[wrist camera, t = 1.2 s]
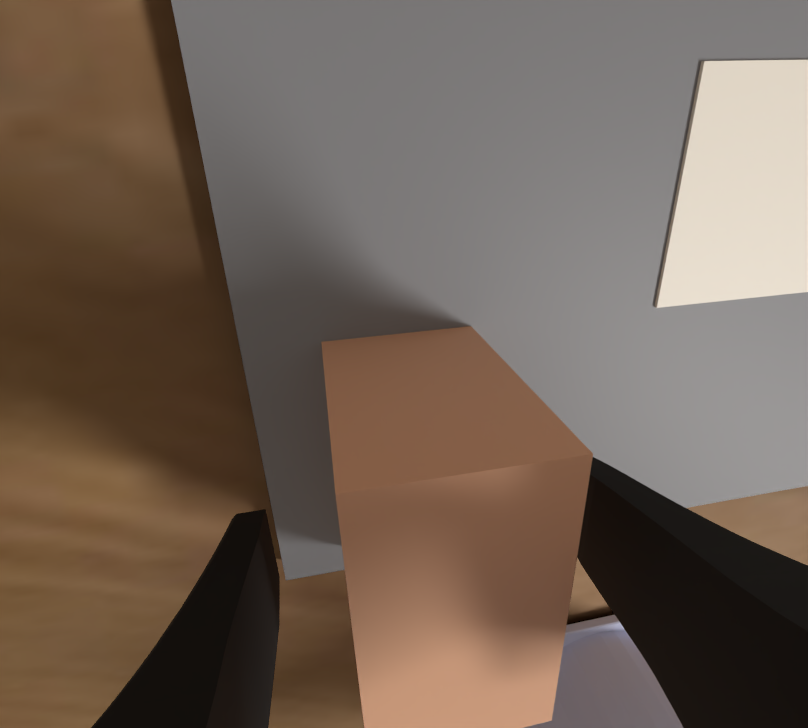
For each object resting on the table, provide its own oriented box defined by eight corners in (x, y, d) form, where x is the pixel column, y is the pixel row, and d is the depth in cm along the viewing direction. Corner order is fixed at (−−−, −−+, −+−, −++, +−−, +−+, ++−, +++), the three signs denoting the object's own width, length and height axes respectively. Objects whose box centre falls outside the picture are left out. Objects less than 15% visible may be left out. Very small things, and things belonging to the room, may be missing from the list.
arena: (906, 452, 20) (1039, 518, 16) (286, 560, 16) (281, 680, 12) (1225, -201, 12) (1630, -355, 8) (117, -318, 8) (-43, -723, 4)
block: (466, 525, 16) (551, 721, 10) (345, 546, 15) (369, 766, 10) (471, 326, 13) (593, 453, 7) (321, 342, 12) (335, 493, 7)
